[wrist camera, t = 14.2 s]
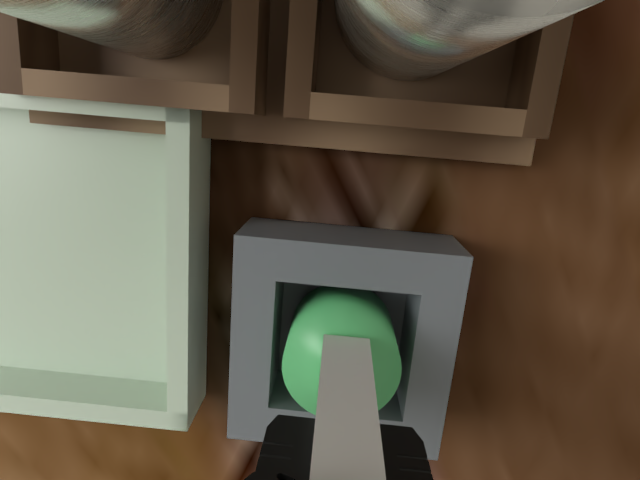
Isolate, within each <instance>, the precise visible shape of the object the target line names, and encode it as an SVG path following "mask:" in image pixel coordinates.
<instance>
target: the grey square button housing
mask: <svg viewBox="0 0 640 480" xmlns="http://www.w3.org/2000/svg"><path fill="white" fill-rule="evenodd" d="M472 263H473V256H472V255H471V254H470V253H469V252H468V251H467V250H466V249H465V248H464V247H463V246H462V245H461V244H460V243H459V242H458V241H457V240H456V239H455V238H454V237H453V236H452V235H443V234H432V233H421V232H410V231H399V230H388V229H377V228H366V227H355V226H344V225H333V224H322V223H311V222H300V221H289V220H278V219H267V218H256V217H251V218H250V219H249V220H248V221H247V222H246V223H245V224H244V225H243V226H242V227H241V228H240V229H239V230H238V231H237V232H236V233H235V234H234V244H233V274H232V303H231V333H230V362H229V391H228V421H227V438H230V439H240V440H249V441H258V442H263V440H264V436H265V432H266V428H267V426H268V425H269V424H270V423H271V422H272V420H273V419H274V418H275V417H276V416H277V415H288V416H298V417H307V418H316V415H314V414H312V413H310V412H308V411H307V410H305V409H304V408H303V407H301V406H300V405H299V404H298V403H297V402H296V401H295V400H294V399H293V397H292V396H291V394H290V393H289V391H288V390H287V387H286V385H285V383H284V379H283V375H282V358H283V354H284V350H285V346H286V342H287V338H288V334H289V331H290V327H291V323H292V319H293V316H294V312H295V310H296V308H297V306H298V305H299V303H300V302H301V300H302V299H303V298H304V297H305V296H306V295H307V294H308V293H310V292H311V291H313V290H314V289H316V288H318V287H320V286H330V287H341V288H351V289H362V290H371V291H372V292H373V293H375V294H376V295H377V296H378V297H379V298H380V299H381V300H382V301H383V303H384V304H385V306H386V307H387V309H388V311H389V314H390V316H391V321H392V325H393V329H394V333H395V337H396V341H397V345H398V349H399V354H400V358H401V365H402V372H401V379H400V383H399V386H398V388H397V390H396V392H395V394H394V395H393V397H392V398H391V399H390V401H389V402H388V403H387V404H386V405H385V406H384V407H382V408H381V409H380V410H379V411H378V414H379V423H380V424H387V425H397V426H406V427H412V428H413V429H414V430H415V431H416V433H417V434H418V435H419V436H420V438H421V439H422V440H423V442H424V445H425V449H426V454H427V459H429V460H438V456H439V450H440V444H441V439H442V433H443V427H444V422H445V416H446V410H447V405H448V399H449V393H450V387H451V382H452V376H453V370H454V365H455V359H456V353H457V348H458V342H459V336H460V331H461V325H462V319H463V314H464V308H465V302H466V297H467V291H468V285H469V280H470V274H471V268H472Z"/></svg>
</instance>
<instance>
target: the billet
mask: <svg viewBox="0 0 640 480" xmlns="http://www.w3.org/2000/svg"><path fill="white" fill-rule="evenodd" d="M602 1H604V0H335V11H336V19H337V23H338V26H339V30H340V32H341V35H342V37H343V40H344V41H345V43H346V45H347V47H348V48H349V50H350V51H351V52H352V54H353V55H354V56H355V57H356V58H357V59H358V61H359V62H360V63H362V64H363V65H364V66H365V67H367V68H368V69H369V70H371V71H373V72H374V73H376V74H378V75H381V76H383V77H386V78H389V79H393V80H400V81H416V80H422V79H426V78H430V77H433V76H435V75H438V74H440V73H442V72H444V71H447V70H449V69H451V68H453V67H456V66H458V65H460V64H462V63H465V62H467V61H469V60H471V59H474V58H476V57H478V56H480V55H483V54H485V53H487V52H489V51H492V50H494V49H496V48H498V47H501V46H503V45H505V44H507V43H510V42H512V41H514V40H516V39H519V38H521V37H523V36H525V35H528V34H530V33H532V32H534V31H537V30H539V29H541V28H543V27H546V26H548V25H550V24H552V23H555V22H557V21H559V20H561V19H564V18H566V17H568V16H570V15H573V14H575V13H577V12H579V11H582V10H584V9H586V8H588V7H591V6H593V5H595V4H597V3H600V2H602Z"/></svg>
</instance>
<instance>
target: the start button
mask: <svg viewBox="0 0 640 480" xmlns="http://www.w3.org/2000/svg"><path fill="white" fill-rule="evenodd" d="M324 334H327V335H337V336H348V337H358V338H368V339H370V346H371V354H372V363H373V371H374V380H375V389H376V397H377V406H378V411H379V410H380V409H381V408H382V407H384V406H385V405H386V404H387V403H388V402H389V401H390V399H391V398H392V397H393V395H394V394H395V392H396V390H397V388H398V386H399V383H400V379H401V372H402V365H401V358H400V354H399V349H398V345H397V341H396V337H395V333H394V329H393V325H392V321H391V316H390V314H389V311H388V309H387V307H386V306H385V304H384V303H383V301H382V300H381V299H380V298H379V297H378V296H377V295H376V294H375V293H373V292H372V291H371V290H362V289H351V288H341V287H330V286H320V287H318V288H316V289H314V290H313V291H311V292H310V293H308V294H307V295H306V296H305V297H304V298H303V299H302V300H301V302H300V303H299V305H298V306H297V308H296V310H295V312H294V316H293V319H292V323H291V327H290V331H289V334H288V338H287V342H286V346H285V350H284V354H283V358H282V375H283V379H284V383H285V385H286V387H287V390H288V391H289V393H290V394H291V396H292V397H293V399H294V400H295V401H296V402H297V403H298V404H299V405H300V406H301V407H303V408H304V409H305V410H307V411H308V412H310V413H312V414H314V415H316V407H317V397H318V387H319V377H320V367H321V357H322V347H323V336H324Z"/></svg>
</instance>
